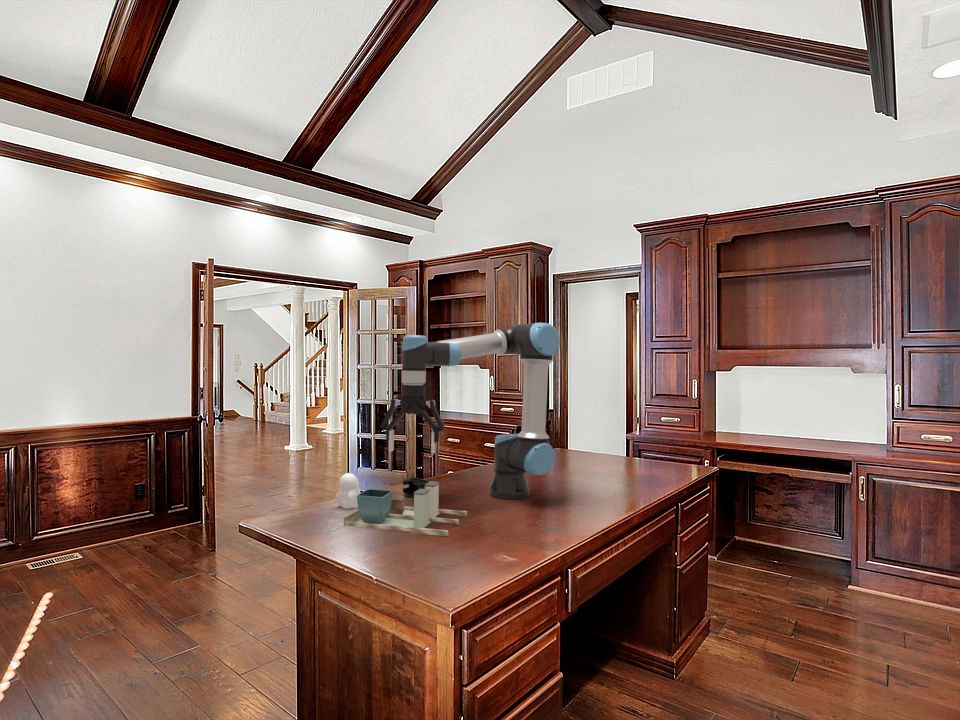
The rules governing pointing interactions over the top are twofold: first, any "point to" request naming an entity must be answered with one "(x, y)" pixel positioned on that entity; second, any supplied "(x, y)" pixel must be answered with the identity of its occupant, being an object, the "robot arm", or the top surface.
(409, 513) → the cream strip
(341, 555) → the top surface
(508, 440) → the robot arm
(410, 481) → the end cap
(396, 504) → the walnut block
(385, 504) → the flower pot
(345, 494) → the figurine
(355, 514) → the lane frame
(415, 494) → the sage strip
